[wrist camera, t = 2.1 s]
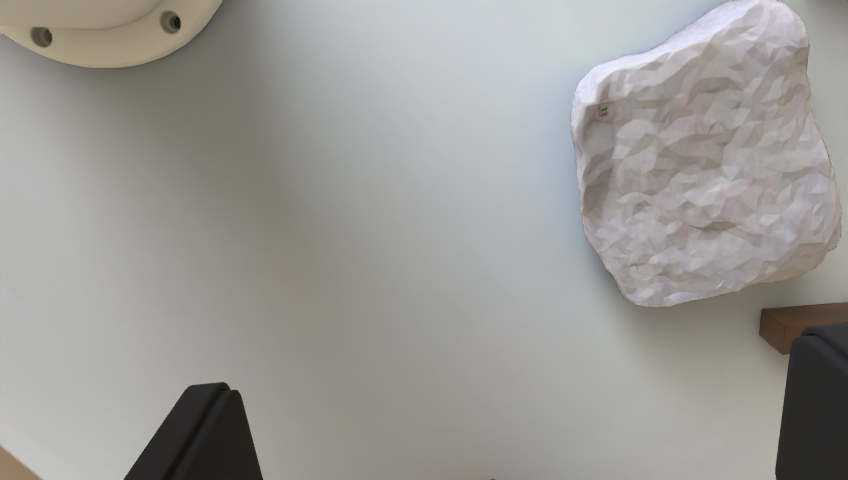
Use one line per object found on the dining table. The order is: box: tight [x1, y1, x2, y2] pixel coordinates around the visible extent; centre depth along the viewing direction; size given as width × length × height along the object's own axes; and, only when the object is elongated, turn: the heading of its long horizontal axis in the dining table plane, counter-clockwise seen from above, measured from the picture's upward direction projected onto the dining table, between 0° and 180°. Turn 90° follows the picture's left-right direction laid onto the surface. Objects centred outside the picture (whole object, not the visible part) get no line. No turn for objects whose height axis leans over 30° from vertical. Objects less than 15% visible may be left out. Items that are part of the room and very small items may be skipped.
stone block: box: [570, 0, 842, 307], centre depth 25 cm, size 12×5×10 cm
